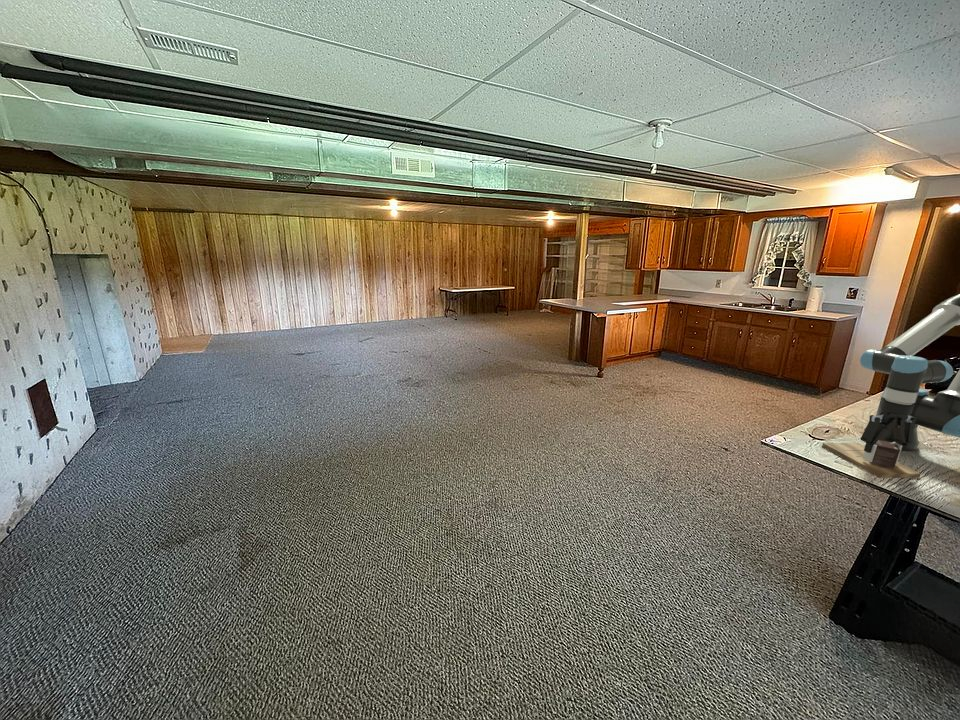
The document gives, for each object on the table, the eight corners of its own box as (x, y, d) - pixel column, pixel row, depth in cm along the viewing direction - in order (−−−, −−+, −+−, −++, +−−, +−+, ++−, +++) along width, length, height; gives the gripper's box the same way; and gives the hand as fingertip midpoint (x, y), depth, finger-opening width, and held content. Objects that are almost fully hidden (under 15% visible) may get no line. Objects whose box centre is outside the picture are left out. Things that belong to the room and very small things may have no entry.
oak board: (857, 446, 149) (858, 442, 149) (919, 477, 128) (921, 473, 128) (821, 446, 149) (822, 442, 149) (878, 477, 128) (879, 473, 128)
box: (866, 456, 138) (871, 438, 136) (889, 461, 135) (895, 442, 133) (870, 463, 133) (876, 444, 131) (894, 468, 130) (900, 449, 128)
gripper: (916, 397, 132) (897, 455, 138) (856, 396, 132) (840, 454, 138) (942, 405, 125) (920, 466, 131) (878, 404, 125) (860, 465, 131)
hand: (879, 460), depth 134 cm, fingers closed on box, 8 cm apart
